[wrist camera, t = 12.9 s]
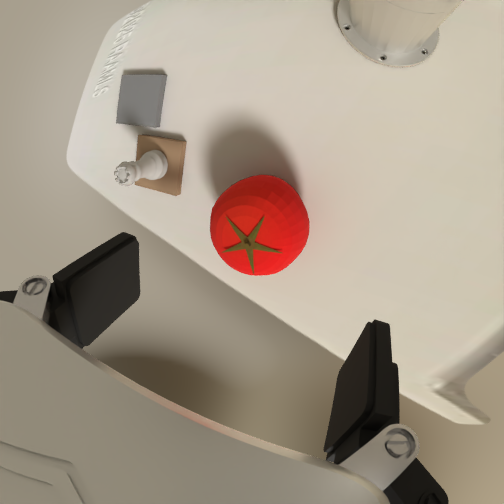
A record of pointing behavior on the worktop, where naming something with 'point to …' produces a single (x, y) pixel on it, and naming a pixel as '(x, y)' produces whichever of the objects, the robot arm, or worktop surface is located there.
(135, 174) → the rook chess piece
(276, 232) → the tomato
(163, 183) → the walnut coaster
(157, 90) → the charcoal coaster
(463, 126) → the worktop surface
